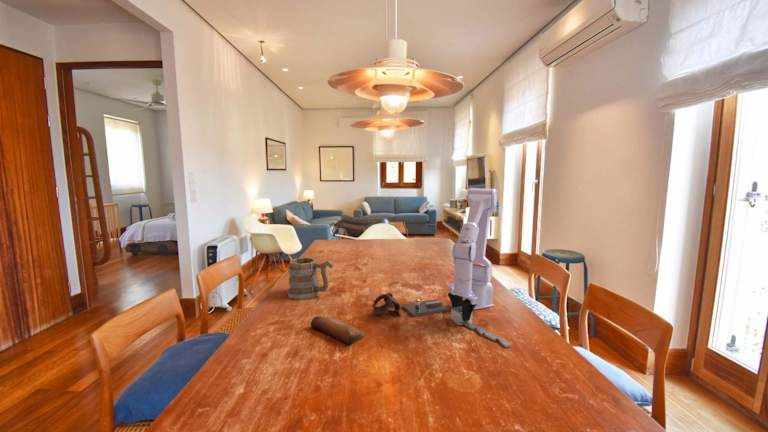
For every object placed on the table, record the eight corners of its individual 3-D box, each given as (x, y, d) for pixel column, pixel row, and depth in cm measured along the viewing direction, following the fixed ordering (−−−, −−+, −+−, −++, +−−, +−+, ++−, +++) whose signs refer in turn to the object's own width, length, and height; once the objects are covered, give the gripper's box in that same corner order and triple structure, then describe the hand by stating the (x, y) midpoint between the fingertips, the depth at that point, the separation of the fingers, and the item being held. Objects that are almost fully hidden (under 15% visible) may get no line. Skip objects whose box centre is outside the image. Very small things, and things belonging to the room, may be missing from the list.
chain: (469, 323, 109) (469, 321, 109) (513, 345, 95) (514, 342, 95) (462, 326, 107) (462, 323, 107) (506, 348, 94) (506, 346, 93)
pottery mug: (403, 321, 111) (392, 303, 109) (379, 331, 113) (367, 313, 111) (403, 299, 122) (393, 283, 120) (381, 308, 124) (371, 292, 122)
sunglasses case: (369, 335, 101) (361, 321, 97) (355, 354, 96) (346, 340, 93) (330, 318, 112) (322, 305, 109) (316, 335, 108) (307, 321, 105)
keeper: (435, 301, 127) (435, 292, 127) (447, 311, 119) (448, 300, 118) (402, 306, 122) (402, 296, 122) (412, 316, 114) (413, 305, 113)
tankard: (281, 296, 132) (280, 260, 130) (300, 286, 143) (299, 253, 141) (324, 304, 124) (323, 265, 122) (340, 293, 136) (340, 257, 134)
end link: (463, 316, 114) (463, 305, 114) (471, 323, 109) (472, 311, 109) (450, 319, 112) (451, 307, 112) (459, 325, 108) (459, 313, 107)
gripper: (441, 273, 114) (440, 310, 116) (465, 286, 101) (463, 328, 103) (458, 271, 117) (457, 307, 119) (484, 283, 103) (482, 324, 105)
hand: (461, 317), depth 111 cm, fingers closed on end link, 5 cm apart
